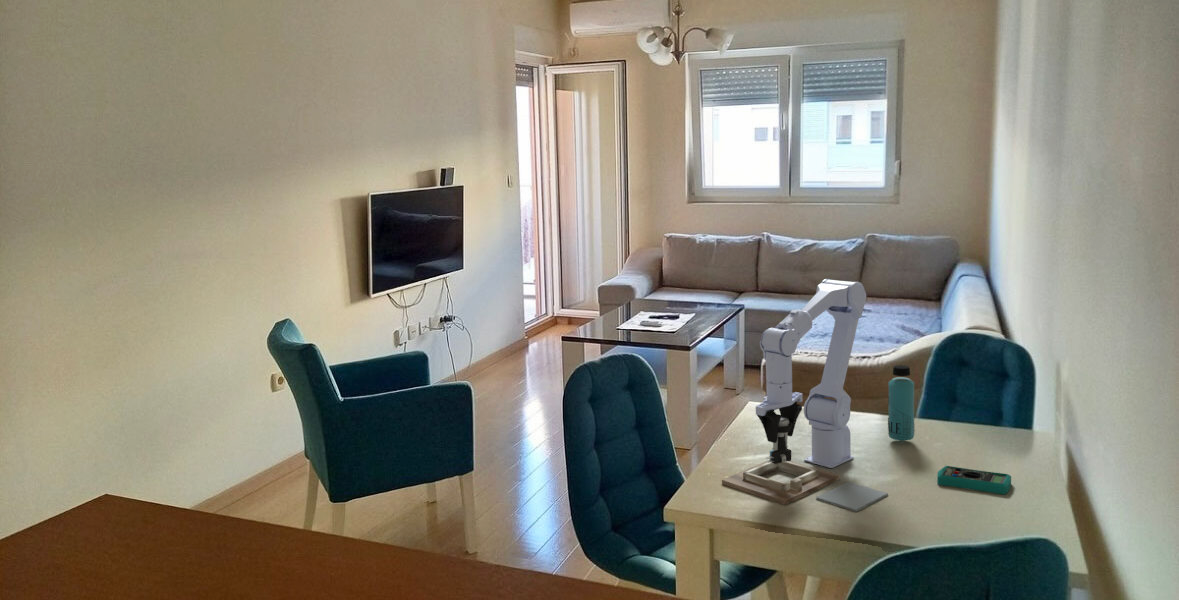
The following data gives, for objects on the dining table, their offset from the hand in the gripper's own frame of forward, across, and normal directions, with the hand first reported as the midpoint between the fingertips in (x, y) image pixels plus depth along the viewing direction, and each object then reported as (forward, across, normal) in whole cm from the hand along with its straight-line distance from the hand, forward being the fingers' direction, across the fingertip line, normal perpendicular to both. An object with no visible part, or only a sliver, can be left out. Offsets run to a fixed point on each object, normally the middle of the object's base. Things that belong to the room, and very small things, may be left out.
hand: (780, 438), depth 208 cm
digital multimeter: (+11, -27, +32) cm, 43 cm away
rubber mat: (+10, -3, +17) cm, 20 cm away
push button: (+6, +1, 0) cm, 6 cm away
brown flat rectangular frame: (+10, 0, 0) cm, 10 cm away
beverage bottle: (+11, -41, +6) cm, 43 cm away
